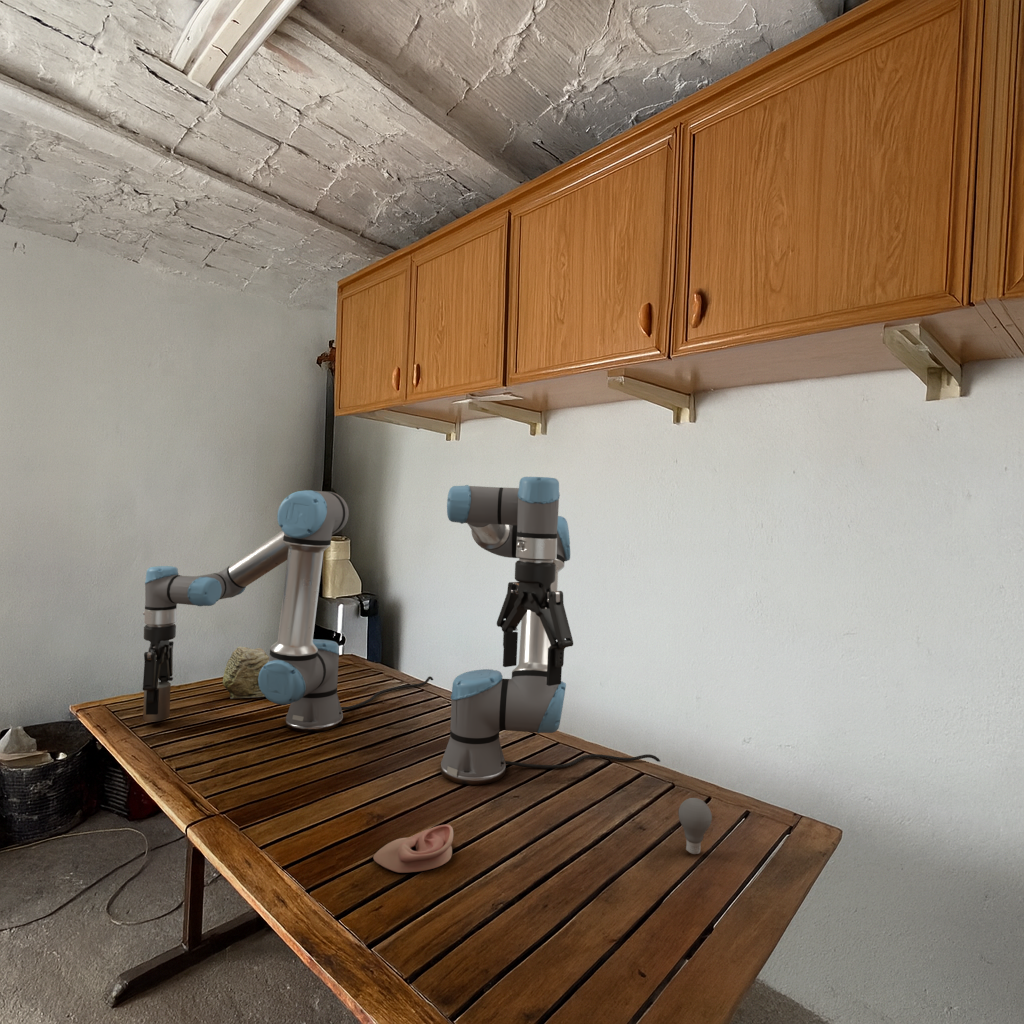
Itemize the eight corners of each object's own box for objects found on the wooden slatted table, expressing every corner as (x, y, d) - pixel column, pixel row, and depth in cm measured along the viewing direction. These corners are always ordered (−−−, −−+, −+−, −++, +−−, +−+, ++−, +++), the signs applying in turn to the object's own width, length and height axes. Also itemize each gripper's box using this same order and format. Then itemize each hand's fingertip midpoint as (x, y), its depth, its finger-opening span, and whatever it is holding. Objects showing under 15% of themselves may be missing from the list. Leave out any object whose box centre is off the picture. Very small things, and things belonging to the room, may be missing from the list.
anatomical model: (366, 844, 109) (392, 812, 120) (365, 867, 109) (391, 833, 120) (440, 856, 106) (459, 823, 117) (439, 880, 106) (458, 844, 117)
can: (174, 714, 173) (175, 682, 173) (161, 722, 167) (162, 688, 167) (151, 713, 173) (152, 680, 173) (138, 721, 167) (139, 687, 167)
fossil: (218, 695, 195) (220, 647, 195) (278, 685, 208) (279, 640, 207) (228, 703, 189) (230, 653, 188) (289, 692, 201) (290, 645, 201)
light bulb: (672, 843, 121) (674, 791, 121) (702, 843, 121) (705, 792, 121) (683, 861, 115) (685, 807, 115) (715, 861, 115) (717, 807, 115)
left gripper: (159, 617, 179) (156, 698, 179) (129, 631, 160) (126, 722, 160) (187, 617, 180) (184, 698, 180) (161, 631, 161) (157, 722, 161)
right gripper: (482, 554, 125) (477, 661, 125) (563, 568, 105) (557, 696, 105) (513, 553, 129) (508, 657, 130) (597, 567, 109) (591, 690, 109)
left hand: (157, 709), depth 170 cm, fingers closed on can, 6 cm apart
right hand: (530, 674), depth 117 cm, fingers open, 13 cm apart
